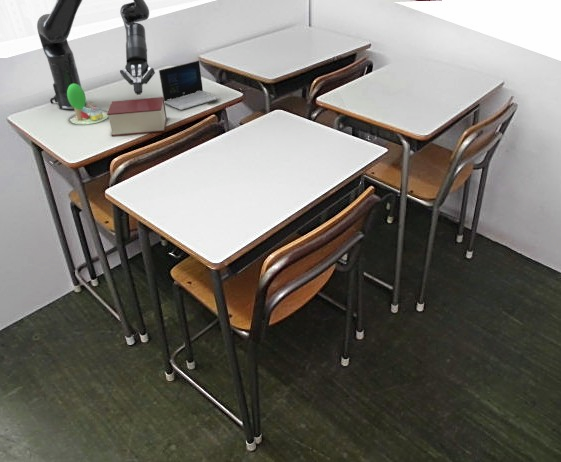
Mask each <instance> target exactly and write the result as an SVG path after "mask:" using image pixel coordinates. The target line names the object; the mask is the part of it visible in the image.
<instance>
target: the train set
mask: <svg viewBox="0 0 561 462" xmlns="http://www.w3.org/2000/svg"><path fill="white" fill-rule="evenodd" d="M81 87H82V86H81ZM81 87H80V86H79V85H78V84H71V85H70V86H69V87H68V90H67V97H68V100H69V102H70V104H71V105H72V106H73V107H74V109H73V110H74V113H75V116H74V118H73V117H70V119H69V121H70V123H73V124H74V125H75V124H76V125H93V124H97V123H100V122H103V121H104V120H106V119H109V117H108V115H107V112H108V111H107V112H106V111H104V110H102V107H98V106H97V105H94V106H93V104H92V102H90V101H87V98H86V94H85V91H84V89H83V87H82V88H81ZM85 102H86V104H87V105H88V106H89V107H86V106H85V105H86V104H85Z"/></svg>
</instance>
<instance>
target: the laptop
mask: <svg viewBox="0 0 561 462" xmlns="http://www.w3.org/2000/svg"><path fill="white" fill-rule="evenodd" d="M200 64H201V63H200V60H195V61H194V60H193V61H191V62H187V63H183V64H179V65H175V66H171V67H170V66H169V67H167V68H162V69H159V70H158V73H159V79H160V80H159V81H160V83H161V84H160V85H161V91H162V97H163V98H164V104H165V105H168V106H170V107H172V108H175V109H178V110H180V111H183V110H187V109H190V108H194V107H197V106H200V105H203V104H207V103H210V102H215V101H216V100H219V99H220V97H219V96H217V95H215V94H213V93H210V92H207V91H204V87H203V82H202V81H203V80H202V73H201V65H200Z"/></svg>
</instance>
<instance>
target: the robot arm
mask: <svg viewBox="0 0 561 462" xmlns="http://www.w3.org/2000/svg"><path fill="white" fill-rule="evenodd" d="M82 2H83V0H56V2H55V4H54V6H53V8H52V10H51V12H50V13H45V14H42V15H41V16H40V17H39V18H38V19H37V22H36V30H37V33H38V37H39V40H40V44H41V47H42V51H43V53H44V55H45V57H46V59H47V61H48V66H49V70H50V73H51V77H52V80H53V83H52V87H53V90H54V96H53V97H51V98H50V99H49V102H50V104H53V103H57V104H58V108H59V109H60V110H74V107H73V106H72V105H71V104H70V102H69V100H68V97H67V90H68V87H69V86H70V85H71V84H78V85H79V86H80V87H81V88H82V89H83V87H82V84H81V79H80V75H79V71H78V67H77V63H76V60H75V56H74V52H73V50H72V49H71V47H70V45H69V42H68V38H69V36H70V33H71V31H72V30H71V29H72V27H73V23H74V21H75V19H76V15H77V13H78V10H79V8H80V6H81V4H82ZM119 13H120V17H121V19H122V22H123V25H124V29H125V41H126V42H125V57H126V58H125V59H126V60H125V61H126V64H125V66H124V69H120V70H119V74H120V75H121V77H122V78H123V79H124V80H125V81H126V82H127V83H128V84H129V85H131V86H133V92H134V94H135V95H136V96H141V95H142V94H143V85H147V84H149V82H150V80H151V79H153V77H154V75H155V74H156V71H155V69H154V68H153V67H150V65H149V64H148V48H147V47H148V46H147V41H146V38H147V37H146V28H145V26H144V25H143V24H141V23H140V22H143V21H147V20H149V17H150V9H149V6H148V5H147V3H146V1H145V0H133V1H132V2H128V3H124V4H122V6H121V7H120V11H119ZM129 75H130V76H131V77H132V78H131V77H130V76H129ZM86 104H87V101H86V102H85V105H86Z"/></svg>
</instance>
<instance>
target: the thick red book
mask: <svg viewBox="0 0 561 462" xmlns="http://www.w3.org/2000/svg"><path fill="white" fill-rule="evenodd" d="M107 115H108V120H109V125H110V130H111V137H120V136H122V137H123V136H131V135H132V136H133V135H143V134H155V133H165V132H166V127H167V120H168V118H167V117H168V116H167V111H166V104H165V101H164V98H163V96H160V97H159V96H158V97H148V98H135V99H124V100H113V101H111V103H110V105H109V108H108V109H107Z"/></svg>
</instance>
